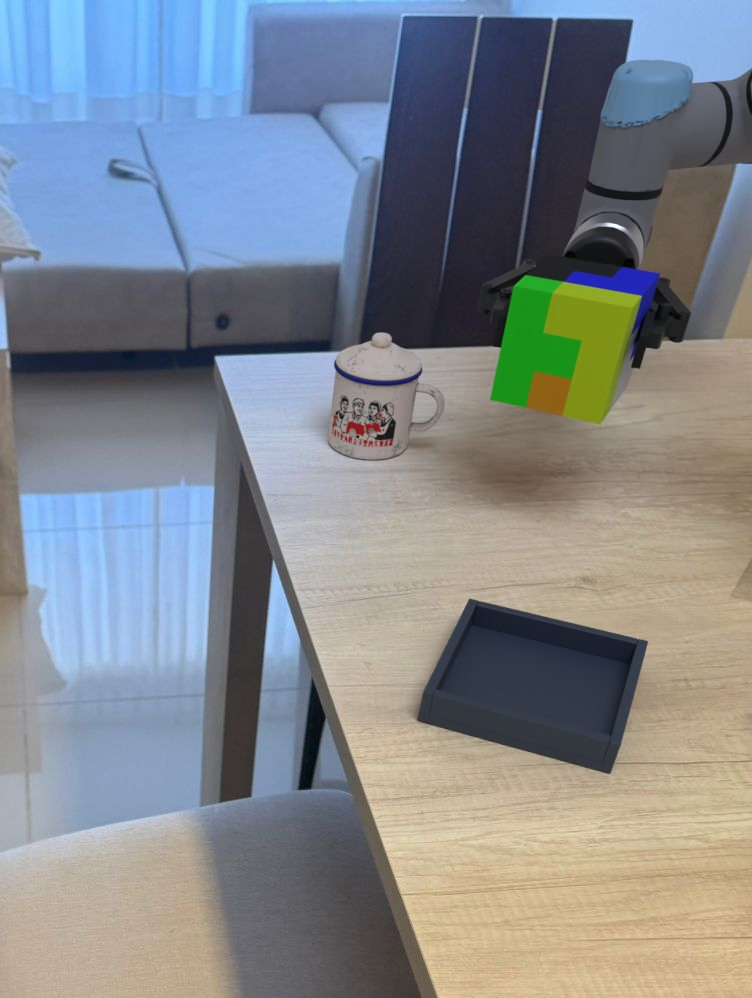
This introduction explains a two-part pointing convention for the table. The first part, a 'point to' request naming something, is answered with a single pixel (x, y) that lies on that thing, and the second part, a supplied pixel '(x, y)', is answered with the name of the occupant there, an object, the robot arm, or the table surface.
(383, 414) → the teacup with lid
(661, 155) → the robot arm
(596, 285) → the puzzle toy
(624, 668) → the dark gray tray
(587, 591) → the table surface
